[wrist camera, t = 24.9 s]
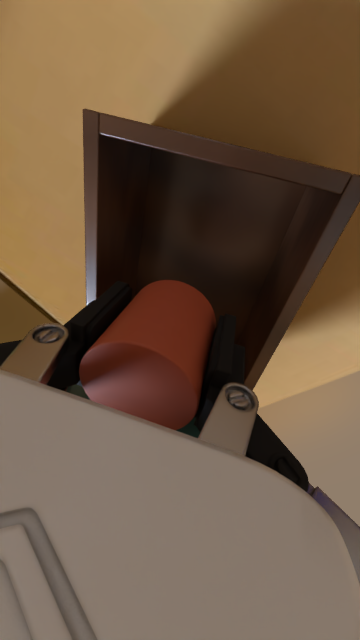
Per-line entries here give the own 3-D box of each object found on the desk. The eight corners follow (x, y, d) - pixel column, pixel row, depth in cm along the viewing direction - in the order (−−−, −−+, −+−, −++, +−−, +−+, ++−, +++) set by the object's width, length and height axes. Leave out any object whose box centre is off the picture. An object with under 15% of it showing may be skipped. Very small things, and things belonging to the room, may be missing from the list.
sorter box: (146, 129, 18) (82, 108, 11) (323, 172, 17) (373, 178, 10) (128, 316, 27) (87, 368, 20) (240, 351, 26) (236, 419, 19)
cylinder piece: (118, 319, 14) (61, 386, 9) (162, 260, 11) (111, 315, 7) (181, 365, 14) (153, 446, 10) (234, 319, 12) (226, 401, 8)
